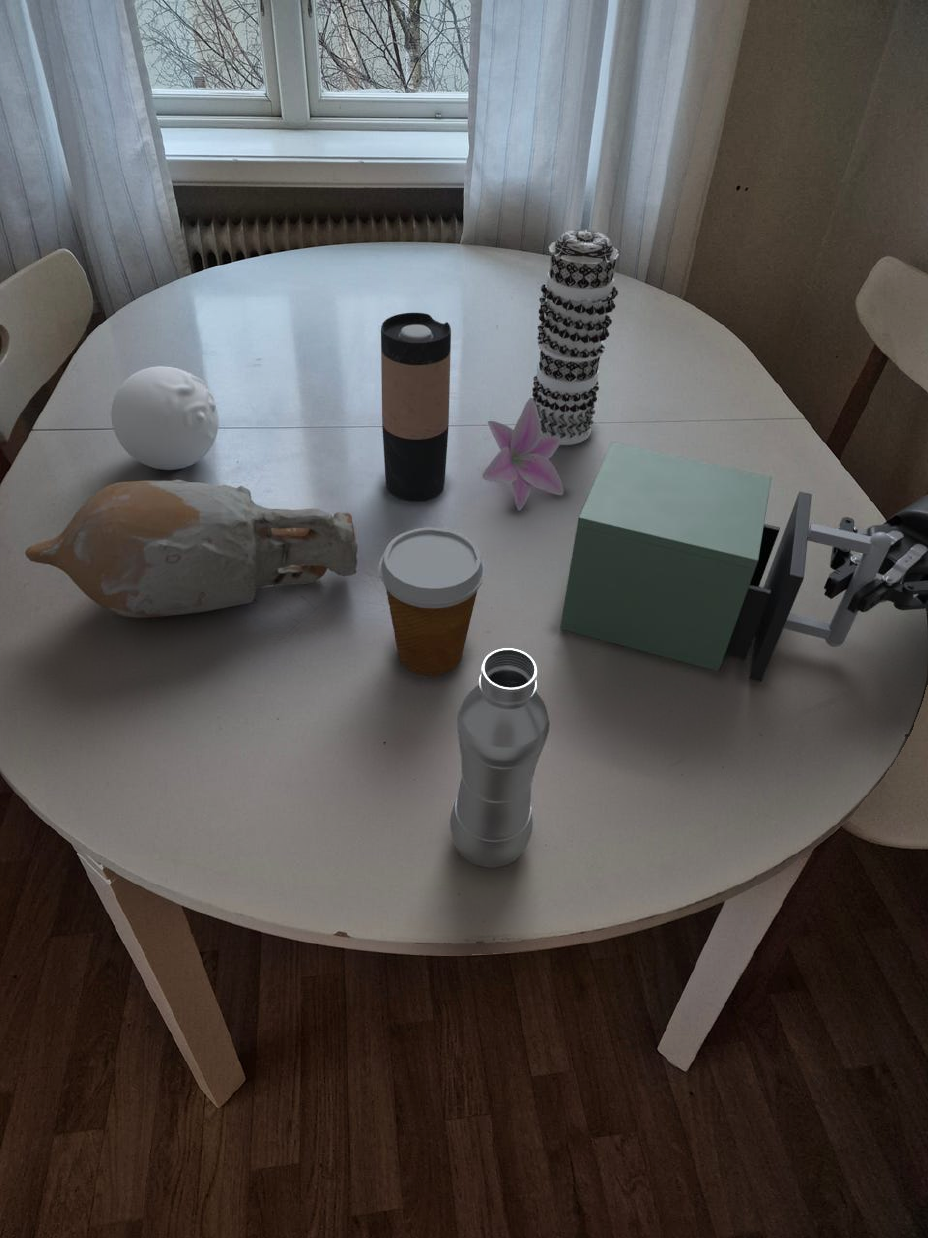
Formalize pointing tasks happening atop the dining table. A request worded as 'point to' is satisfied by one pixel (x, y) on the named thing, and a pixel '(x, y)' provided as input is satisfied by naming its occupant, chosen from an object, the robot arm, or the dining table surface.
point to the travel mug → (415, 404)
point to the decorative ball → (165, 417)
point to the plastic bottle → (498, 760)
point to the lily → (524, 456)
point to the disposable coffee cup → (431, 595)
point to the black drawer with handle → (798, 586)
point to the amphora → (192, 547)
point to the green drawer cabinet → (665, 554)
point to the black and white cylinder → (573, 333)
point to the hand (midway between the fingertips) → (842, 596)
